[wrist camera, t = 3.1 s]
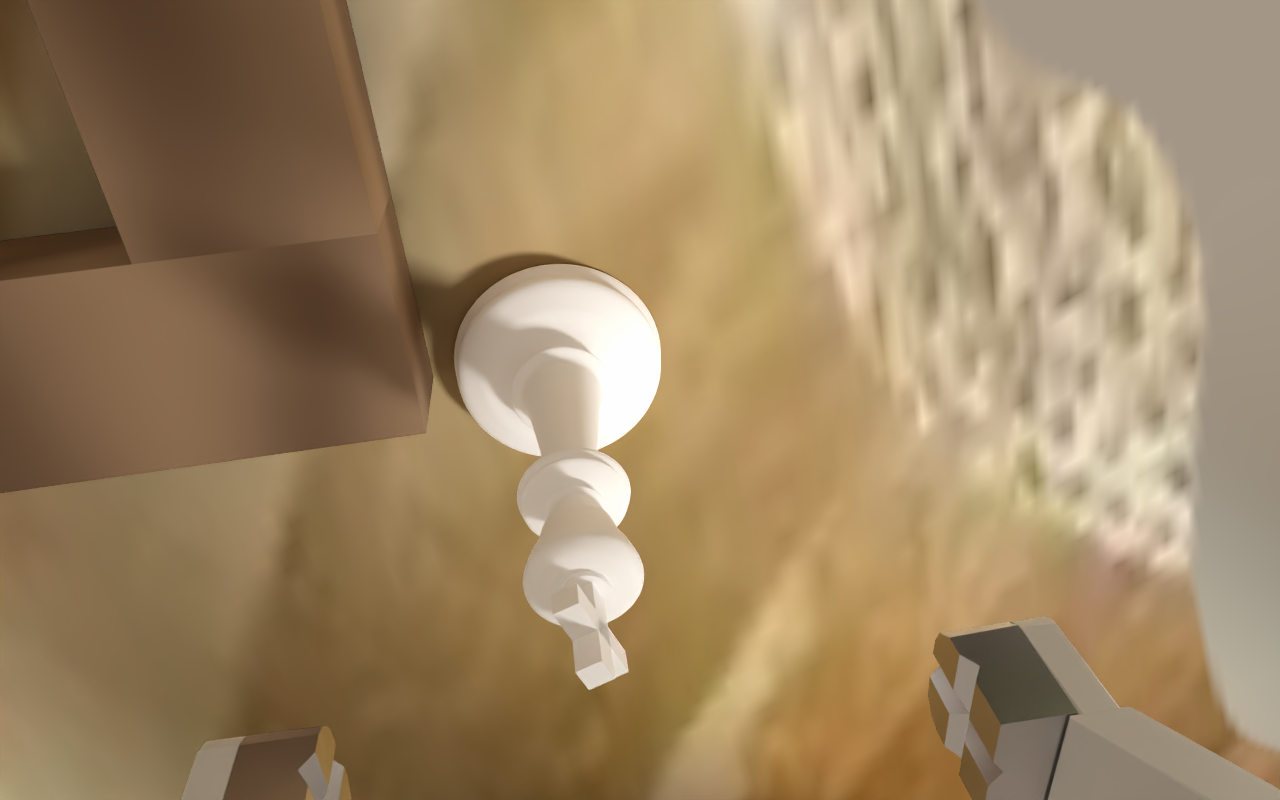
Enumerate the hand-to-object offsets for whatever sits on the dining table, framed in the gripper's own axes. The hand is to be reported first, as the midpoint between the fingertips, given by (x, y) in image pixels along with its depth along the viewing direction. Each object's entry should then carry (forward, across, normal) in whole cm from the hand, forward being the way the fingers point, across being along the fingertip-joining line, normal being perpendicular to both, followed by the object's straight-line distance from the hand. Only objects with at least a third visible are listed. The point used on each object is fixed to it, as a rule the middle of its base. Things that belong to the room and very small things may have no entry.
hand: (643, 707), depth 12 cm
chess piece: (+11, +1, 0) cm, 11 cm away
